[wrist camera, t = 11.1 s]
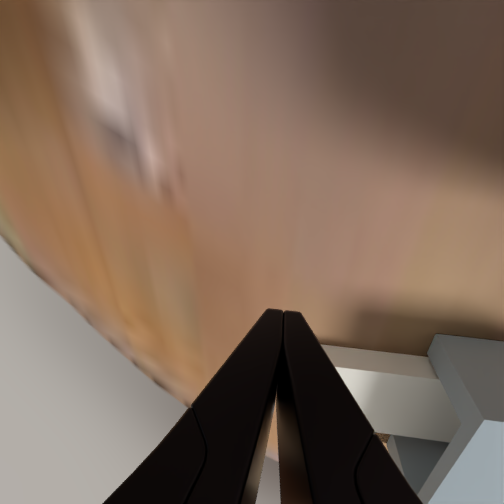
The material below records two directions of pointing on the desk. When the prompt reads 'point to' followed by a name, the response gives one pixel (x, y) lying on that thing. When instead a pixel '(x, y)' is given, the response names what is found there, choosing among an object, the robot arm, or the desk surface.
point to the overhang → (461, 428)
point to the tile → (397, 392)
